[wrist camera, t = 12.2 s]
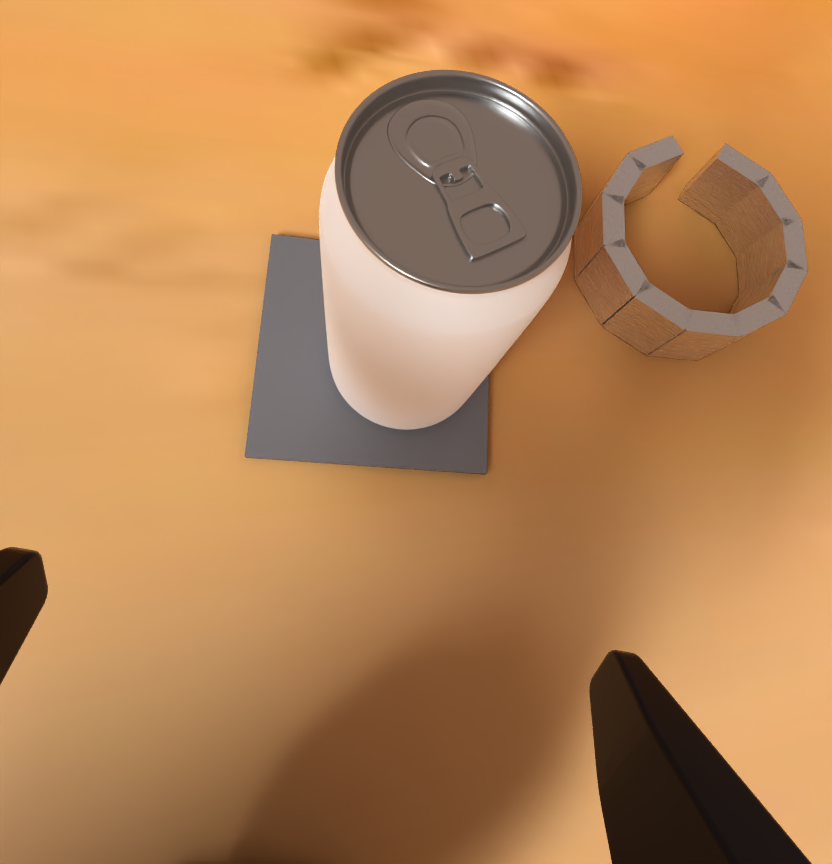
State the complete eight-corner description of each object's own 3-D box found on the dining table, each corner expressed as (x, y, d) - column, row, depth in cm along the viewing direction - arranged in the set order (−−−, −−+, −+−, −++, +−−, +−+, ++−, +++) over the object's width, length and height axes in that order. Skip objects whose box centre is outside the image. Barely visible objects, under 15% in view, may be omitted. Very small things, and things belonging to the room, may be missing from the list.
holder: (764, 367, 26) (816, 344, 23) (575, 348, 25) (605, 322, 22) (747, 194, 28) (794, 153, 26) (572, 169, 27) (600, 124, 24)
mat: (484, 474, 23) (486, 473, 23) (246, 457, 22) (244, 456, 22) (489, 264, 26) (491, 260, 25) (272, 239, 24) (271, 234, 24)
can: (432, 269, 25) (511, 20, 13) (502, 392, 24) (653, 241, 12) (302, 327, 23) (261, 105, 12) (372, 459, 23) (403, 360, 11)
